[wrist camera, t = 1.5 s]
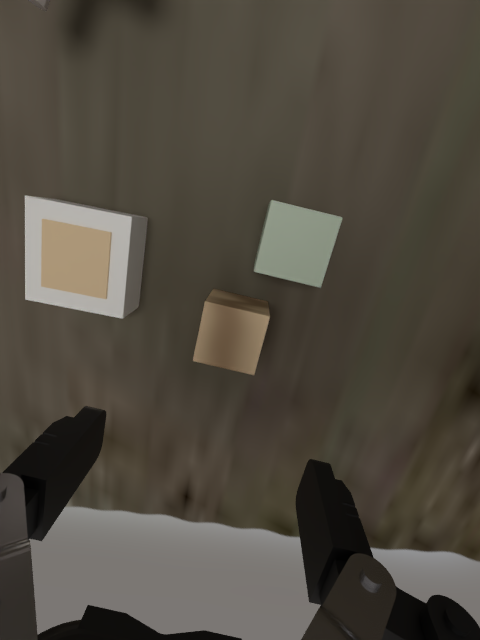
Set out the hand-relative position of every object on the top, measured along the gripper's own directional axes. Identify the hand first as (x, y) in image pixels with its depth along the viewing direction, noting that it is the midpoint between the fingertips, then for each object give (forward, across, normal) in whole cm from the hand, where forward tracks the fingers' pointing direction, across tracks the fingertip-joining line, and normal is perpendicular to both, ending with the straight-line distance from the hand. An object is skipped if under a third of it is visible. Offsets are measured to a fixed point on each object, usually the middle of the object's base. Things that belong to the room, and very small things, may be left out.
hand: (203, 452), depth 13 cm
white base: (+18, +13, -3) cm, 23 cm away
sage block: (+18, -3, -8) cm, 20 cm away
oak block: (+18, 0, 0) cm, 18 cm away
